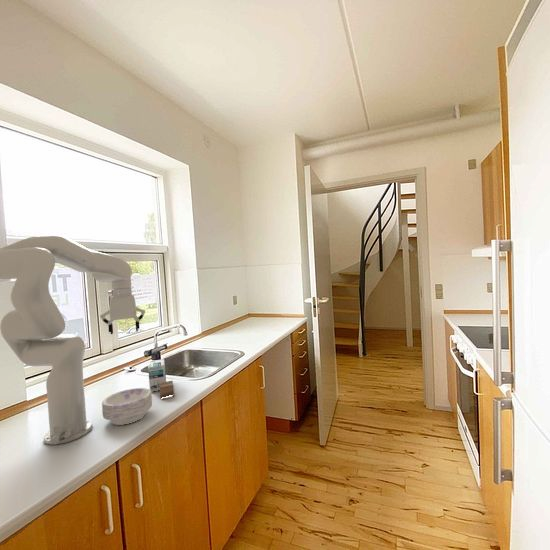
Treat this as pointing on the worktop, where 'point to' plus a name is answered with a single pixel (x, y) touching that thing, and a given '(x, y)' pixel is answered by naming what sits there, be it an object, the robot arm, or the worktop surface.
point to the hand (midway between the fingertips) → (124, 332)
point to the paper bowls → (127, 405)
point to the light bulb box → (156, 374)
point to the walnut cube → (166, 389)
